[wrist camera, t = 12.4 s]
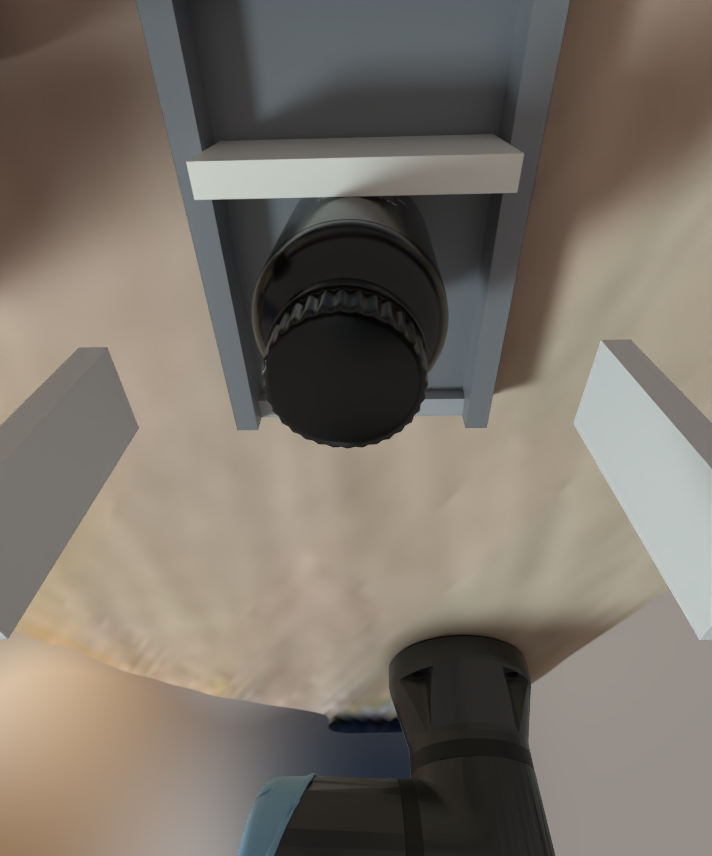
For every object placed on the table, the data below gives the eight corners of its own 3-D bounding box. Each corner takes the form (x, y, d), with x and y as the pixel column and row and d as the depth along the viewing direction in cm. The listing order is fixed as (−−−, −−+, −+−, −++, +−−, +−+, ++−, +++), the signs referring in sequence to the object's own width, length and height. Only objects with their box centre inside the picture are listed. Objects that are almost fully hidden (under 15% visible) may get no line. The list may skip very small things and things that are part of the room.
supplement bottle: (379, 133, 19) (393, 206, 10) (451, 269, 23) (510, 417, 14) (254, 226, 22) (172, 355, 13) (336, 336, 25) (320, 501, 16)
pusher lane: (481, 397, 29) (499, 450, 25) (242, 400, 29) (224, 453, 26) (563, -65, 17) (624, -102, 13) (145, -50, 17) (80, -80, 13)
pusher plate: (488, 166, 20) (517, 192, 16) (225, 172, 20) (194, 199, 17) (493, 133, 19) (524, 153, 16) (219, 140, 20) (185, 161, 16)
